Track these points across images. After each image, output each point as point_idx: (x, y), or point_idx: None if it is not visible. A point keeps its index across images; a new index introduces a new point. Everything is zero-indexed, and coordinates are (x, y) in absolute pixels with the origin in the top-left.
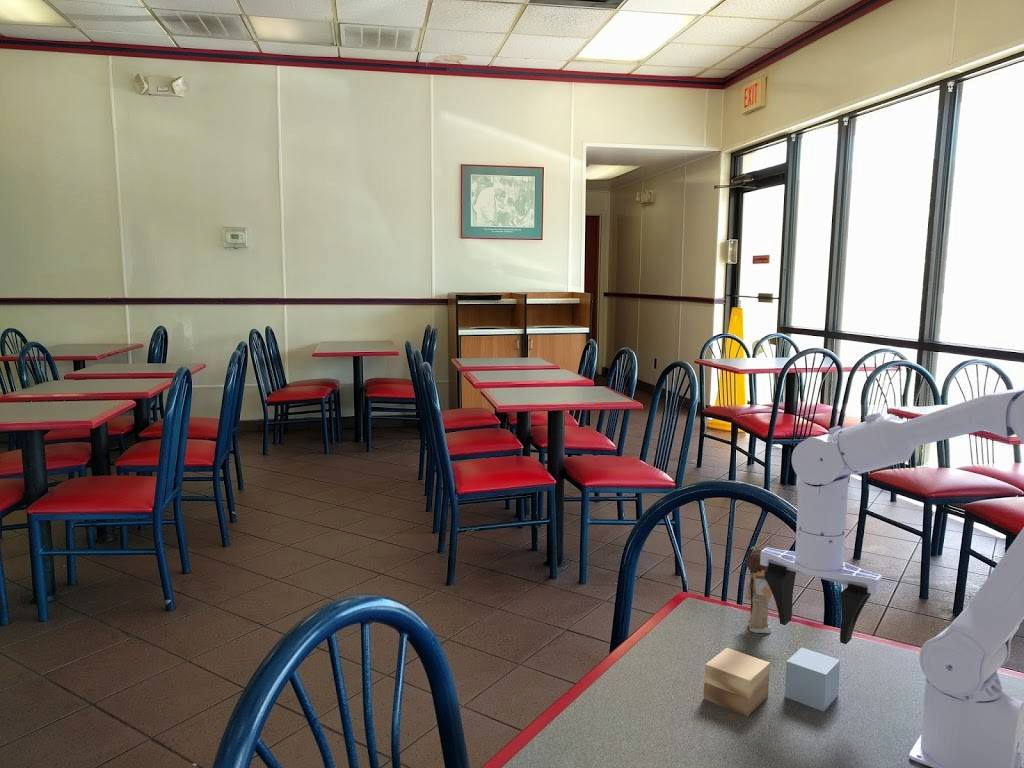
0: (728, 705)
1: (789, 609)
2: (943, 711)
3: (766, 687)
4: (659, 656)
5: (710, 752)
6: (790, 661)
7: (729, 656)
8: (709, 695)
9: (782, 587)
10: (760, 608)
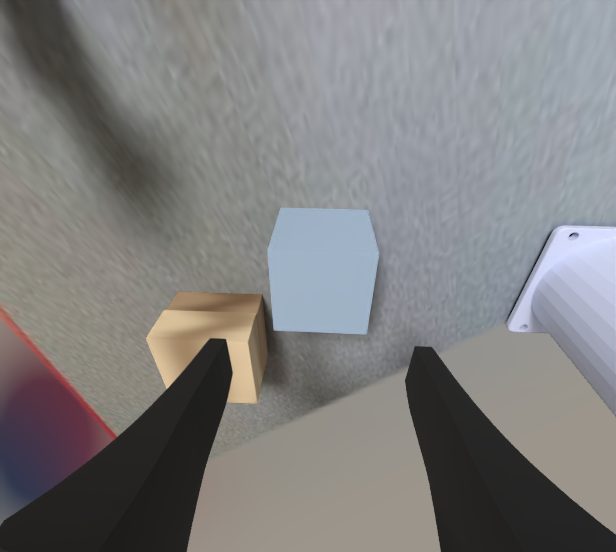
0: None
1: (213, 386)
2: None
3: (258, 316)
4: (42, 289)
5: (275, 419)
6: (280, 326)
7: (177, 362)
8: None
9: (183, 547)
10: None
